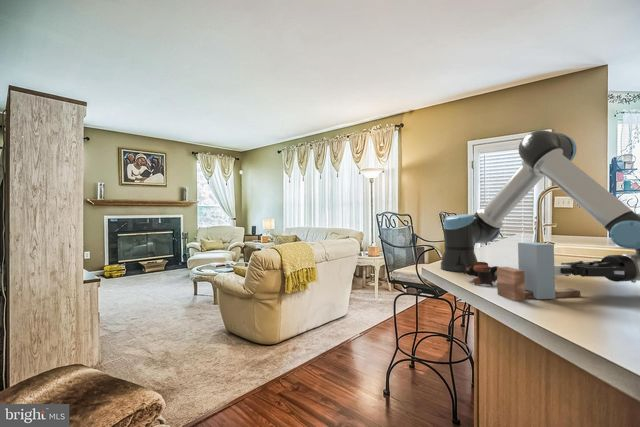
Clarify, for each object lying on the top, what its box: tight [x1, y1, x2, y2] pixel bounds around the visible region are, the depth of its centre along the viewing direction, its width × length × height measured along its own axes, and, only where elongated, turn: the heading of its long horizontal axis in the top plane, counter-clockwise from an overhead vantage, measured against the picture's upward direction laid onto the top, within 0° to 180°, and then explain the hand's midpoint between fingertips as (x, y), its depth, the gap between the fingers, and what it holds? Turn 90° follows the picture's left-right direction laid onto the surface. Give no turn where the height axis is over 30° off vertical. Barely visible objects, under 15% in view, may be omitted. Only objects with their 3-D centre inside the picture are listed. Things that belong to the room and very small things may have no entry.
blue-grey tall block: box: [517, 241, 556, 300], centre depth 86 cm, size 5×7×15 cm
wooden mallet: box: [496, 266, 581, 302], centre depth 86 cm, size 21×7×8 cm, turn 94°
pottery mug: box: [463, 261, 499, 286], centre depth 104 cm, size 12×10×8 cm
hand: (547, 270), depth 86 cm, fingers closed
